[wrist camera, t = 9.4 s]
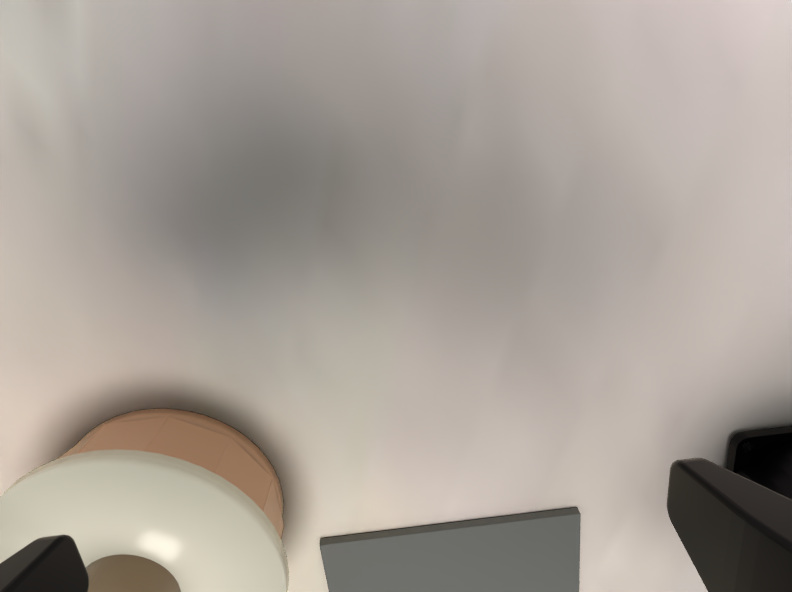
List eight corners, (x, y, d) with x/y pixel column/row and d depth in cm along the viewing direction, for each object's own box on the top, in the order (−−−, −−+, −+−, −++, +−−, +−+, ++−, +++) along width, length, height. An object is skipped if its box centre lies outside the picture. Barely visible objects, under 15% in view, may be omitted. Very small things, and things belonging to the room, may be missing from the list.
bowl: (260, 395, 20) (237, 449, 17) (300, 570, 23) (287, 646, 20) (28, 423, 20) (-43, 483, 16) (99, 595, 23) (52, 675, 20)
